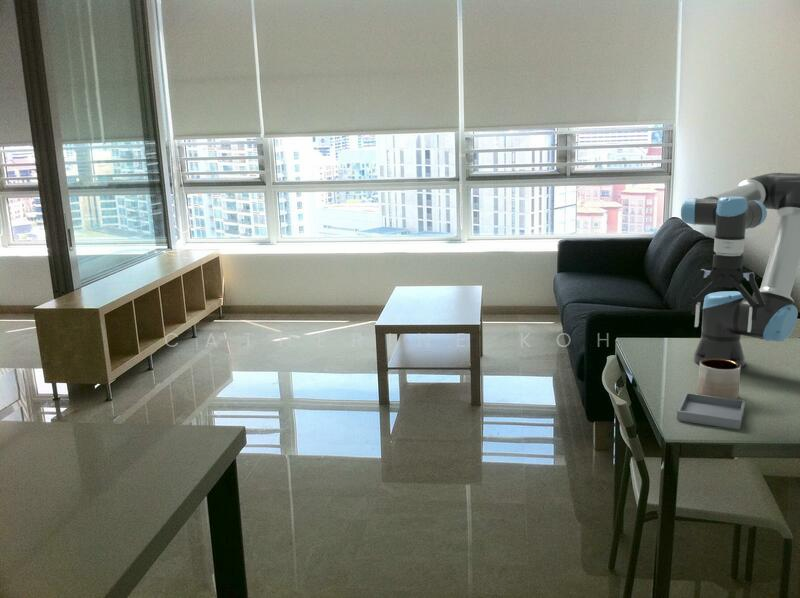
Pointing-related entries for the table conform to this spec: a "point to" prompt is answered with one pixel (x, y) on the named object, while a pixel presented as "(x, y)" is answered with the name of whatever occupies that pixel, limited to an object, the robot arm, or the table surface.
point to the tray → (711, 410)
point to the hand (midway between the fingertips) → (722, 328)
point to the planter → (719, 378)
